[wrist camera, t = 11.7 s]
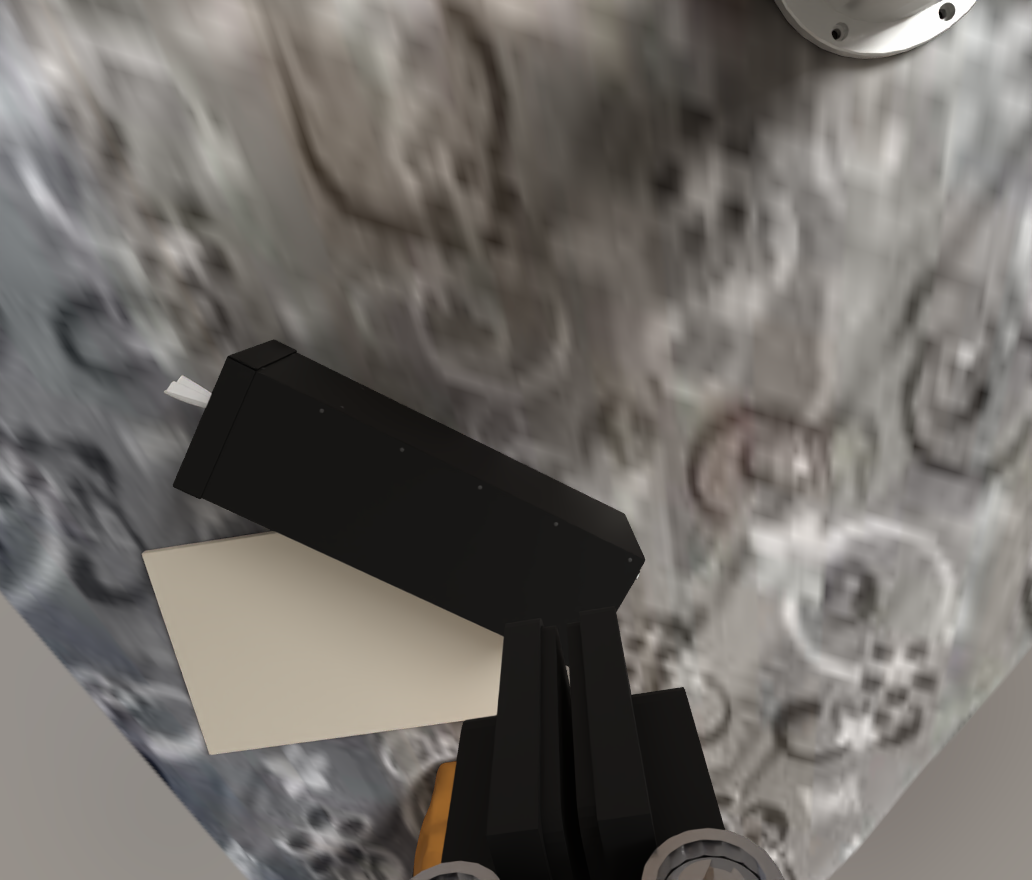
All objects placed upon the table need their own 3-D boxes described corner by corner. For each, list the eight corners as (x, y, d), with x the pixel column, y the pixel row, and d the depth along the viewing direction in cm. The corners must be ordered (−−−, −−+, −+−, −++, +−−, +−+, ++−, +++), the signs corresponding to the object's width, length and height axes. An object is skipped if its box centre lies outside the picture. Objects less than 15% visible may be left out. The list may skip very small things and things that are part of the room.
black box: (581, 675, 43) (112, 460, 40) (570, 612, 51) (175, 427, 47) (649, 560, 42) (166, 325, 38) (627, 512, 49) (223, 313, 46)
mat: (531, 491, 49) (531, 494, 48) (567, 701, 53) (568, 706, 53) (145, 550, 50) (141, 554, 50) (212, 750, 55) (209, 754, 54)
